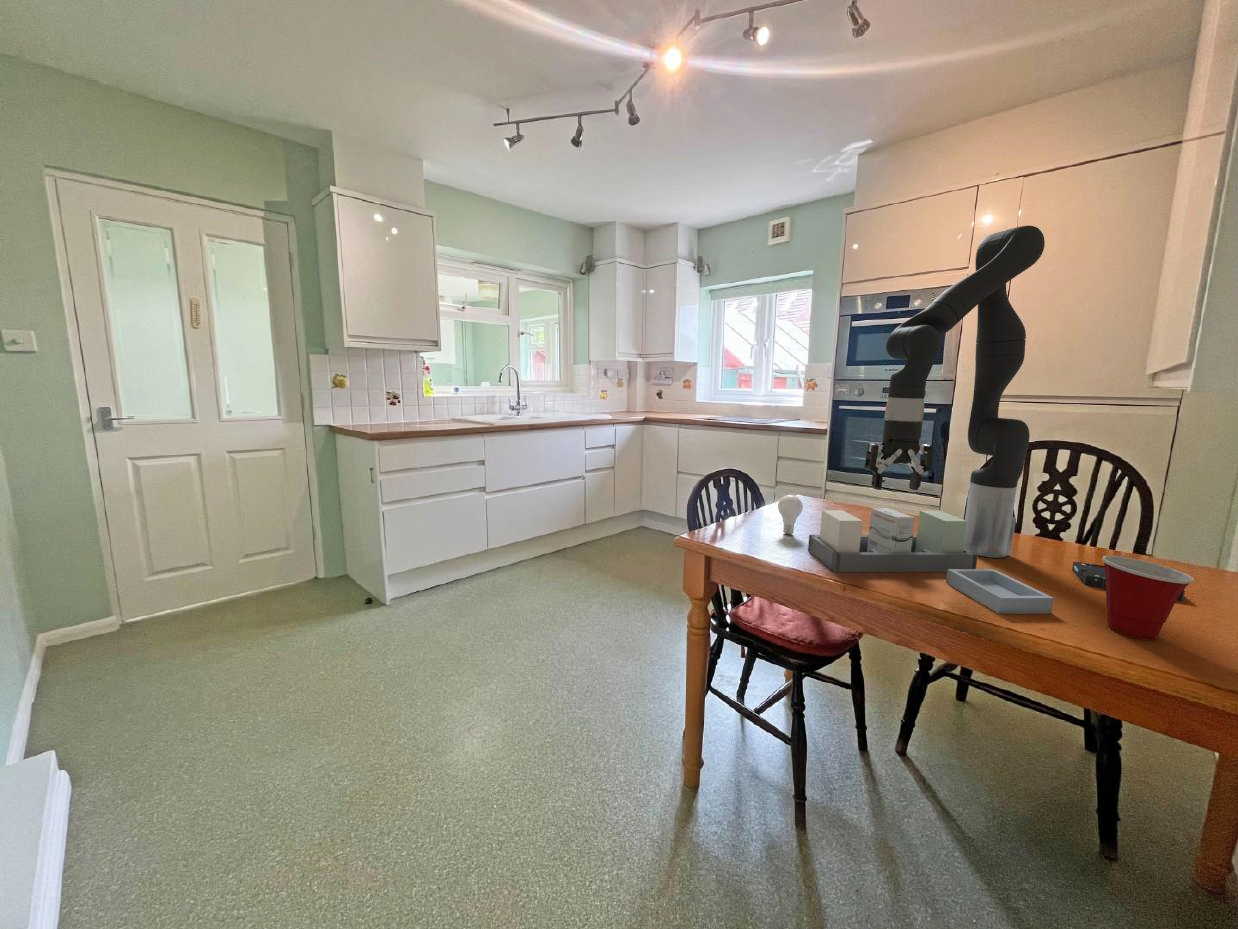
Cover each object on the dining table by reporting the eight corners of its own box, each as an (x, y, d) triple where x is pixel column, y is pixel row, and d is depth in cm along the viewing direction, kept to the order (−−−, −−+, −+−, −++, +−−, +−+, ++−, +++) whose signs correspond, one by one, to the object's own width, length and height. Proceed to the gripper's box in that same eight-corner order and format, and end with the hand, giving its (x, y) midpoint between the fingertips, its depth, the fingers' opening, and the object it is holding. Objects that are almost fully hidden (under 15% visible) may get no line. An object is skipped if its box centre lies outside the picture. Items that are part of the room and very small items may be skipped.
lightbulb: (803, 538, 134) (807, 498, 132) (779, 537, 134) (782, 497, 132) (796, 531, 140) (799, 492, 138) (773, 530, 140) (775, 492, 138)
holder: (933, 550, 125) (935, 535, 125) (975, 571, 112) (977, 554, 111) (807, 550, 124) (809, 534, 123) (834, 572, 110) (836, 554, 109)
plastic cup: (1200, 654, 79) (1216, 581, 77) (1115, 643, 82) (1129, 573, 80) (1149, 622, 89) (1162, 557, 87) (1075, 613, 92) (1087, 551, 90)
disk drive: (1084, 588, 105) (1184, 603, 98) (1086, 575, 105) (1187, 590, 98) (1070, 572, 114) (1161, 585, 107) (1072, 560, 114) (1163, 573, 106)
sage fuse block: (934, 554, 123) (940, 510, 121) (960, 568, 114) (967, 521, 112) (914, 554, 123) (919, 510, 121) (939, 568, 114) (945, 521, 112)
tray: (992, 582, 106) (994, 569, 105) (1051, 613, 92) (1054, 598, 91) (945, 582, 105) (947, 569, 105) (998, 613, 91) (1001, 598, 91)
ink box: (910, 566, 114) (916, 516, 112) (892, 568, 113) (897, 517, 111) (882, 554, 122) (888, 507, 120) (865, 555, 121) (870, 508, 119)
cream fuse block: (838, 554, 122) (842, 510, 120) (857, 568, 113) (862, 520, 111) (818, 554, 122) (822, 510, 120) (835, 568, 113) (840, 520, 111)
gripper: (923, 417, 116) (915, 486, 119) (863, 416, 115) (856, 485, 118) (945, 420, 109) (936, 493, 111) (881, 419, 108) (873, 492, 111)
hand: (895, 489), depth 115 cm, fingers open, 8 cm apart
